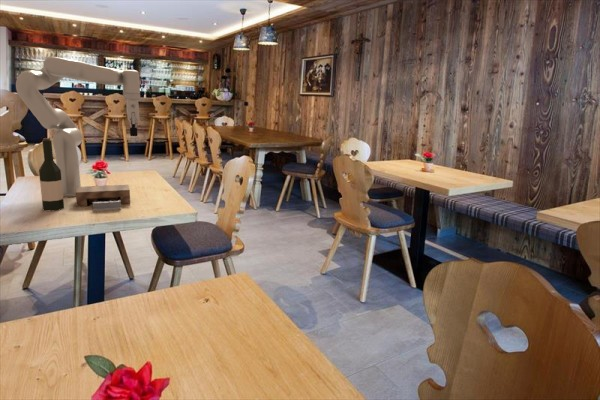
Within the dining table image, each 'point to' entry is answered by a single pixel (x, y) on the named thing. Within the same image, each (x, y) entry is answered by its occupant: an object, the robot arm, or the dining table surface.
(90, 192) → the shelf
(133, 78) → the robot arm
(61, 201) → the wine bottle
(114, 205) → the tray
